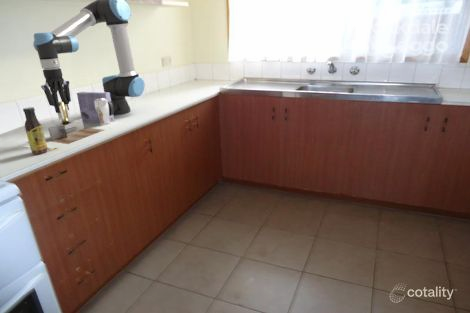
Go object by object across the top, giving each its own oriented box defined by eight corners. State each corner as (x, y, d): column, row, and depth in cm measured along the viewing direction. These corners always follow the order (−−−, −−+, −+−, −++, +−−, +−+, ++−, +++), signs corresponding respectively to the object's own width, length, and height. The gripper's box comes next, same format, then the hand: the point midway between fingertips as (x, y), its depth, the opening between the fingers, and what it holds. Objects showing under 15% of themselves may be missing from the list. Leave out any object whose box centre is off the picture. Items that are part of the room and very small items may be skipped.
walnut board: (83, 130, 172) (82, 127, 172) (105, 132, 166) (104, 129, 165) (45, 143, 154) (45, 140, 153) (68, 147, 147) (68, 143, 147)
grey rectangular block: (69, 131, 164) (66, 121, 162) (78, 132, 161) (75, 122, 159) (47, 139, 154) (44, 128, 152) (56, 140, 151) (53, 129, 149)
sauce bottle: (40, 155, 139) (26, 110, 132) (28, 154, 141) (14, 110, 133) (52, 149, 145) (39, 106, 137) (41, 149, 147) (28, 106, 139)
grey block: (79, 129, 169) (76, 117, 167) (88, 130, 166) (85, 118, 164) (58, 136, 159) (55, 124, 156) (67, 137, 156) (64, 125, 154)
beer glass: (98, 128, 173) (92, 101, 167) (99, 125, 179) (94, 98, 173) (112, 127, 175) (106, 99, 169) (113, 123, 181) (107, 97, 175)
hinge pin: (67, 125, 160) (60, 101, 156) (71, 125, 159) (64, 101, 154) (62, 126, 158) (55, 102, 153) (66, 127, 157) (59, 102, 152)
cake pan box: (117, 122, 184) (111, 91, 177) (112, 124, 179) (105, 92, 173) (87, 121, 188) (80, 91, 182) (82, 124, 184) (74, 93, 177)
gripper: (41, 71, 140) (55, 123, 149) (71, 66, 153) (83, 114, 162) (30, 70, 143) (44, 122, 152) (60, 66, 156) (72, 113, 165)
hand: (64, 118), depth 157 cm, fingers closed on hinge pin, 2 cm apart
